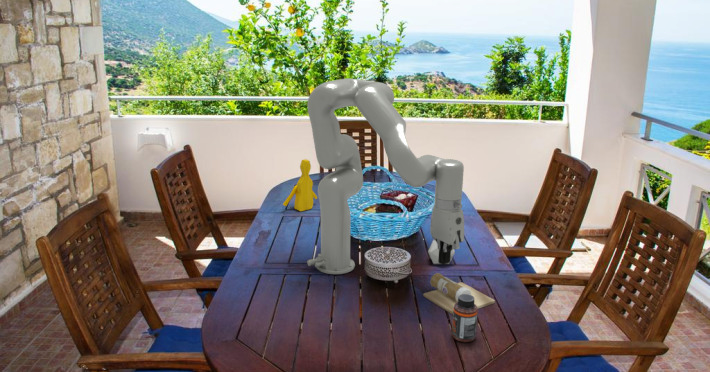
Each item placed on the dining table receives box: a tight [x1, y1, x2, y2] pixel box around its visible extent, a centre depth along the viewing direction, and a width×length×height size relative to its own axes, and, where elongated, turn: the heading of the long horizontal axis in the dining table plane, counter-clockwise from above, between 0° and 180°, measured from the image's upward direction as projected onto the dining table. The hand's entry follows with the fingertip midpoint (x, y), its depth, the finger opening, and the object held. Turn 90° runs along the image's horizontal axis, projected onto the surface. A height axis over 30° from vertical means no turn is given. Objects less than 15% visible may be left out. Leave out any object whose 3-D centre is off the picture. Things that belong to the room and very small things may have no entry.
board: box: [422, 281, 496, 315], centre depth 167 cm, size 15×14×1 cm
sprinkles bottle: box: [429, 272, 471, 302], centre depth 168 cm, size 5×5×13 cm
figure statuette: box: [282, 158, 318, 212], centre depth 240 cm, size 18×8×22 cm, turn 131°
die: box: [427, 239, 456, 265], centre depth 192 cm, size 8×9×10 cm
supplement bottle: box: [451, 294, 479, 343], centre depth 146 cm, size 6×6×11 cm
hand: (444, 262), depth 169 cm, fingers closed
